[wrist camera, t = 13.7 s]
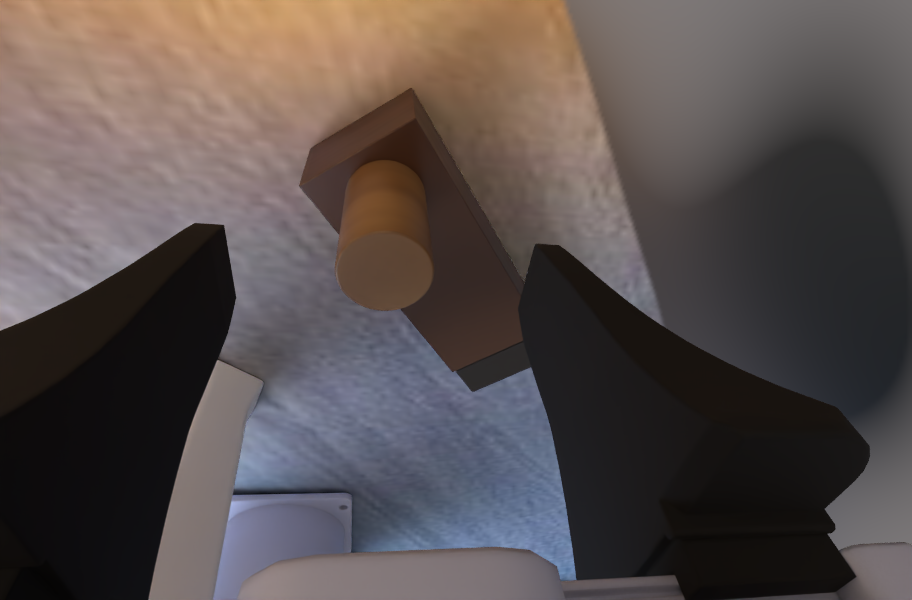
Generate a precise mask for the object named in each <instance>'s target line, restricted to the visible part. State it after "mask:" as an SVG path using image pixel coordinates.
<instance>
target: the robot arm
mask: <svg viewBox="0 0 912 600" xmlns="http://www.w3.org/2000/svg"><path fill="white" fill-rule="evenodd" d="M235 301H236V294H235V288H234V282H233V276H232V270H231V264H230V258H229V252H228V246H227V240H226V234H225V228H224V225H216V224H200V223H194V224H192V225H191V226H189V227H187V228H186V229H184V230H182V231H181V232H179V233H178V234H176V235H175V236H173V237H172V238H170V239H169V240H167V241H166V242H164V243H163V244H161V245H160V246H158V247H157V248H155V249H154V250H152V251H151V252H149V253H148V254H146V255H145V256H143V257H142V258H140V259H138V260H137V261H135V262H134V263H132V264H131V265H129V266H128V267H126V268H124V269H123V270H121V271H119V272H118V273H116V274H114V275H113V276H111V277H109V278H107V279H106V280H104V281H102V282H101V283H99V284H97V285H96V286H94V287H92V288H90V289H89V290H87V291H85V292H83V293H81V294H80V295H78V296H76V297H74V298H72V299H70V300H68V301H66V302H64V303H62V304H60V305H58V306H56V307H54V308H52V309H50V310H48V311H45V312H43V313H41V314H39V315H37V316H35V317H33V318H30V319H28V320H26V321H24V322H21V323H19V324H16V325H14V326H11V327H9V328H6V329H4V330H1V331H0V600H148V599H149V594H150V589H151V584H152V579H153V574H154V569H155V564H156V560H157V556H158V551H159V547H160V542H161V538H162V534H163V529H164V525H165V520H166V516H167V512H168V508H169V504H170V500H171V496H172V492H173V488H174V484H175V480H176V476H177V472H178V469H179V465H180V462H181V458H182V454H183V451H184V447H185V444H186V440H187V436H188V433H189V430H190V427H191V424H192V421H193V419H194V416H195V413H196V411H197V408H198V406H199V403H200V401H201V398H202V396H203V394H204V391H205V389H206V386H207V384H208V381H209V379H210V377H211V374H212V372H213V369H214V367H215V364H216V362H217V359H218V357H219V354H220V352H221V349H222V347H223V344H224V342H225V339H226V337H227V334H228V330H229V326H230V322H231V318H232V314H233V309H234V305H235ZM518 313H519V319H520V326H521V331H522V337H523V342H524V345H525V349H526V352H527V355H528V358H529V361H530V364H531V368H532V371H533V374H534V377H535V380H536V383H537V386H538V389H539V392H540V395H541V398H542V401H543V404H544V407H545V410H546V413H547V416H548V420H549V423H550V427H551V431H552V435H553V440H554V445H555V450H556V455H557V459H558V464H559V469H560V475H561V480H562V486H563V491H564V497H565V502H566V509H567V515H568V522H569V528H570V535H571V541H572V548H573V555H574V563H575V571H576V579H577V580H575V581H560V577H559V573H558V569H557V566H555V565H554V564H552V563H551V562H549V561H547V560H546V559H544V558H542V557H541V556H539V555H537V554H536V553H534V552H532V551H530V550H525V549H514V548H504V547H481V548H457V549H433V550H409V551H385V552H360V553H351V540H352V496H351V495H350V494H348V493H307V494H260V495H232V501H231V506H230V511H229V517H228V522H227V527H226V533H225V538H224V543H223V549H222V554H221V560H220V565H219V570H218V576H217V581H216V586H215V592H214V597H213V600H912V545H911V544H908V543H905V542H896V543H874V544H858V545H853V546H849V547H847V548H843V549H841V550H838V549H837V547H836V546H835V544H834V543H833V542H832V540H831V539H830V537H829V536H828V534H827V533H832V532H833V531H834V530H835V524H834V522H833V521H832V519H831V518H830V517H829V515H828V514H827V512H826V511H825V508H826V507H827V506H828V505H829V504H830V503H831V502H832V501H834V500H835V499H836V498H837V497H838V496H839V495H840V494H841V493H842V492H843V491H844V490H845V489H847V488H848V487H849V486H850V485H851V484H852V483H853V482H854V481H855V480H856V479H857V478H858V476H860V474H861V473H862V472H863V471H864V469H865V467H866V465H867V463H868V461H869V457H870V447H869V445H868V444H867V443H866V441H865V440H864V439H863V437H862V436H861V435H860V434H859V433H858V432H857V430H856V429H855V428H854V427H853V426H852V425H851V423H850V422H849V421H848V420H847V419H846V417H845V416H844V415H843V414H842V413H841V411H840V410H839V409H838V408H836V407H835V406H832V405H829V404H826V403H824V402H821V401H818V400H816V399H813V398H810V397H807V396H805V395H802V394H799V393H797V392H794V391H791V390H788V389H786V388H783V387H780V386H778V385H775V384H773V383H771V382H769V381H766V380H764V379H762V378H759V377H757V376H755V375H752V374H750V373H748V372H745V371H743V370H741V369H739V368H737V367H735V366H733V365H731V364H728V363H727V362H724V361H723V360H721V359H719V358H717V357H715V356H713V355H711V354H709V353H707V352H705V351H704V350H702V349H700V348H698V347H696V346H694V345H693V344H691V343H689V342H687V341H686V340H684V339H682V338H681V337H679V336H678V335H676V334H674V333H673V332H671V331H670V330H668V329H666V328H665V327H663V326H662V325H660V324H659V323H657V322H656V321H654V320H653V319H651V318H650V317H648V316H647V315H645V314H644V313H643V312H641V311H640V310H639V309H637V308H636V307H635V306H633V305H632V304H631V303H629V302H628V301H627V300H625V299H624V298H623V297H622V296H620V295H619V294H618V293H616V292H615V291H614V290H613V289H612V288H610V287H609V286H608V285H607V284H606V283H604V282H603V281H602V280H601V279H600V278H598V277H597V276H596V275H595V274H594V273H593V272H591V271H590V270H589V269H588V268H587V267H586V266H584V265H583V264H582V263H581V262H580V261H578V260H577V259H576V258H575V257H574V256H573V255H571V254H570V253H569V252H568V251H566V250H565V249H564V248H562V247H561V246H559V245H547V244H535V246H534V250H533V254H532V258H531V261H530V265H529V269H528V272H527V276H526V280H525V284H524V287H523V291H522V295H521V298H520V302H519V306H518Z"/></svg>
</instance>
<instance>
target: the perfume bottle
mask: <svg viewBox="0 0 912 600" xmlns="http://www.w3.org/2000/svg"><path fill="white" fill-rule="evenodd" d="M262 387H263V381H262V380H260V379H258V378H256V377H254V376H252V375H250V374H247V373H245V372H243V371H241V370H239V369H237V368H235V367H233V366H230V365H228V364H226V363H224V362H222V361H220V360H217V362H216V364H215V367H214V369H213V372H212V374H211V377H210V379H209V381H208V384H207V386H206V389H205V391H204V394H203V396H202V398H201V401H200V403H199V406H198V408H197V411H196V413H195V416H194V419H193V421H192V424H191V427H190V430H189V433H188V436H187V440H186V444H185V447H184V451H183V454H182V458H181V462H180V465H179V469H178V472H177V476H176V480H175V484H174V488H173V492H172V496H171V500H170V504H169V508H168V512H167V516H166V520H165V525H164V529H163V534H162V538H161V542H160V547H159V551H158V556H157V560H156V564H155V569H154V574H153V579H152V584H151V589H150V594H149V599H148V600H213V597H214V592H215V586H216V581H217V576H218V570H219V565H220V560H221V554H222V549H223V543H224V538H225V533H226V527H227V522H228V517H229V511H230V506H231V501H232V495H233V490H234V485H235V479H236V474H237V469H238V463H239V458H240V453H241V447H242V442H243V437H244V431H245V426H246V422H247V421H248V419H249V417H250V416H251V414H252V412H253V410H254V408H255V405H256V403H257V400H258V398H259V395H260V392H261V390H262Z"/></svg>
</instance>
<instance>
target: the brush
mask: <svg viewBox="0 0 912 600" xmlns="http://www.w3.org/2000/svg"><path fill="white" fill-rule="evenodd" d="M299 187H300V188H301V189H302V190H303V192H304V193H305V194H306V195H307V196H308V198H309V199H310V200H311V201H312V202H313V204H314V205H315V206H316V207H317V209H318V210H319V211H320V212H321V213H322V215H323V216H324V217H325V218H326V219H327V221H328V222H329V223H330V224H331V225H332V227H333V228H334V229H335V230H336V232H337V233H338V234H339V240H338V247H337V254H336V261H335V276H336V280H337V282H338V285H339V286H340V288H341V290H342V291H343V292H344V294H345V295H346V296H347V297H348V298H350V299H351V300H352V301H354V302H355V303H357V304H359V305H361V306H363V307H366V308H369V309H374V310H381V311H389V310H397V309H401V310H402V311H403V313H404V314H405V315H406V316H407V318H408V319H409V320H410V321H411V322H412V324H413V325H414V326H415V327H416V328H417V330H418V331H419V332H420V333H421V334H422V336H423V337H424V338H425V339H426V341H427V342H428V343H429V344H430V345H431V347H432V348H433V349H434V350H435V351H436V353H437V354H438V355H439V356H440V357H441V359H442V360H443V361H444V362H445V364H446V365H447V366H448V367H449V368H450V370H451V371H452V372H454V371H456V373H457V374H458V375H459V376H460V378H461V379H462V380H463V381H464V382H465V384H466V385H467V386H468V387H469V389H470V390H471V391H472V392H474V391H476V390H479V389H481V388H483V387H486V386H488V385H490V384H493V383H495V382H497V381H500V380H502V379H504V378H507V377H509V376H511V375H514V374H516V373H518V372H521V371H523V370H525V369H528V368H530V367H531V364H530V361H529V358H528V355H527V352H526V349H525V345H524V342H523V337H522V331H521V326H520V319H519V313H518V306H519V302H520V298H521V295H522V291H523V287H524V282H523V280H522V279H521V277H520V275H519V273H518V272H517V270H516V268H515V266H514V265H513V263H512V261H511V259H510V258H509V256H508V254H507V252H506V251H505V249H504V247H503V245H502V244H501V242H500V240H499V238H498V237H497V235H496V233H495V231H494V230H493V228H492V226H491V225H490V223H489V221H488V219H487V218H486V216H485V214H484V212H483V211H482V209H481V207H480V205H479V204H478V202H477V200H476V198H475V197H474V195H473V193H472V191H471V190H470V188H469V186H468V184H467V183H466V181H465V179H464V177H463V176H462V174H461V172H460V170H459V169H458V167H457V165H456V164H455V162H454V160H453V158H452V157H451V155H450V153H449V151H448V150H447V148H446V146H445V144H444V143H443V141H442V139H441V137H440V136H439V134H438V132H437V130H436V129H435V127H434V125H433V123H432V122H431V120H430V118H429V116H428V115H427V113H426V111H425V109H424V108H423V106H422V104H421V103H420V101H419V99H418V97H417V96H416V94H415V92H414V90H413V89H412V88H410V89H409V90H407V91H405V92H404V93H402V94H400V95H399V96H397V97H395V98H394V99H392V100H390V101H389V102H387V103H385V104H384V105H382V106H380V107H379V108H377V109H375V110H374V111H372V112H370V113H369V114H367V115H365V116H364V117H362V118H360V119H359V120H357V121H355V122H354V123H352V124H350V125H349V126H347V127H345V128H344V129H342V130H340V131H339V132H337V133H335V134H334V135H332V136H330V137H329V138H327V139H325V140H324V141H322V142H321V143H319V144H317V145H316V146H314V147H312V148H311V149H310V151H309V155H308V158H307V161H306V165H305V168H304V171H303V175H302V178H301V181H300V185H299Z"/></svg>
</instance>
